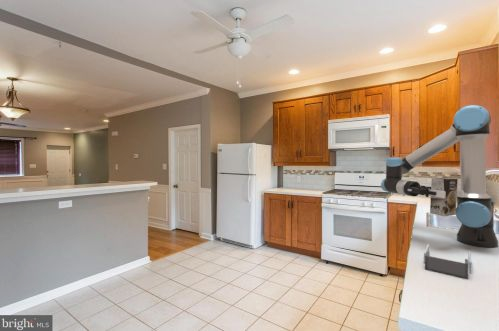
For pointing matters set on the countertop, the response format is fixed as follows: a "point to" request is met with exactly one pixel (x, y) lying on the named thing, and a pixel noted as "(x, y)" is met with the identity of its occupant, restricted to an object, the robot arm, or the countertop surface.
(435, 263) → the gray u-shaped bracket
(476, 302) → the countertop surface
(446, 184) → the coffee box
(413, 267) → the countertop surface
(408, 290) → the countertop surface
